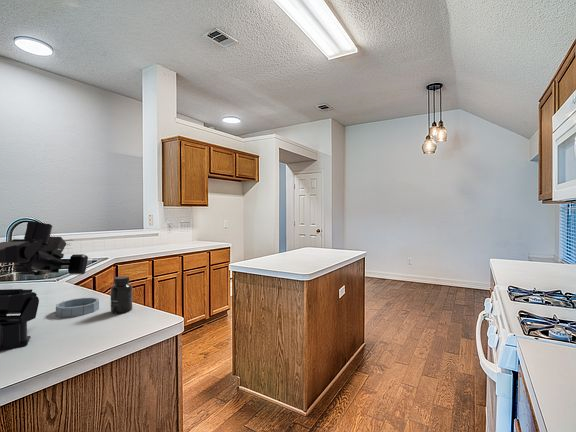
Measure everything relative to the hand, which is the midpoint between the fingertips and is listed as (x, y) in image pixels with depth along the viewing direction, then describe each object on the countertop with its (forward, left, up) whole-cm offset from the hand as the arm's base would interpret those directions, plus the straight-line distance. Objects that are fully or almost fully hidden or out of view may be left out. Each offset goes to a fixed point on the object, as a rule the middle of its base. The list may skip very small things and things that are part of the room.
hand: (70, 269), depth 108 cm
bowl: (+2, -2, -15) cm, 16 cm away
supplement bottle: (-7, -15, -16) cm, 23 cm away
